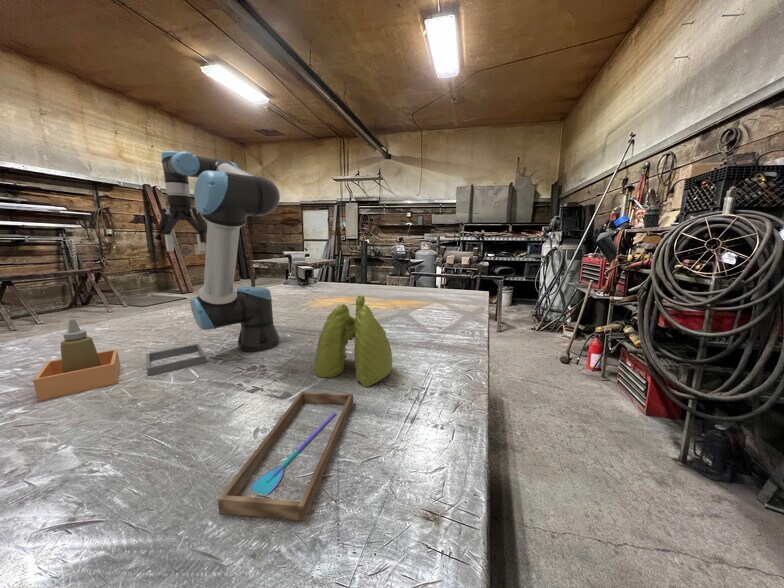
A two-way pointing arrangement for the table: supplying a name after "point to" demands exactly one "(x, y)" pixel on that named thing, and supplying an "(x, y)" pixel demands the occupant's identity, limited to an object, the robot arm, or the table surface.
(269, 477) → the paddle
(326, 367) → the lungs
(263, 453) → the brown wooden frame
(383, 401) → the table surface
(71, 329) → the squeeze bottle
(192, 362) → the tray
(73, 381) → the wooden bin
